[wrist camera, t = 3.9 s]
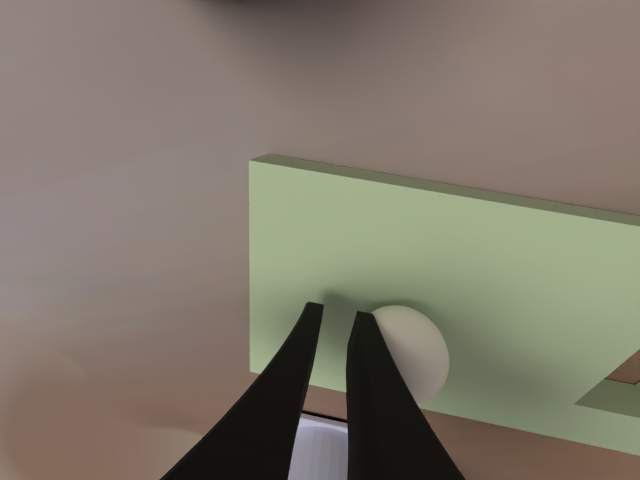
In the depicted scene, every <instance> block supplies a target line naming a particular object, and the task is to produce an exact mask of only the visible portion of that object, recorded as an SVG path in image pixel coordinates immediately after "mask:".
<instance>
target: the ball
mask: <svg viewBox="0 0 640 480" xmlns="http://www.w3.org/2000/svg"><path fill="white" fill-rule="evenodd" d="M371 313H372V314H373V315H374V317H375V319H376V321H377V324H378V326H379V329H380V331H381V333H382V336H383V338H384V340H385V343H386V345H387V347H388V349H389V351H390V353H391V356H392V358H393V360H394V362H395V364H396V366H397V368H398V370H399V372H400V374H401V376H402V377H403V379H404V381H405V383H406V385H407V387H408V389H409V391H410V392H411V394H412V396H413V398H414V400H415V401H416V403H417V404H420V403H423V402H426V401H428V400H430V399H431V398H433V397H434V396H435V395H436V394H437V393H438V392H439V391H440V390H441V388H442V387H443V385H444V383H445V381H446V378H447V376H448V371H449V354H448V349H447V346H446V343H445V340H444V338H443V336H442V334H441V333H440V331H439V329H438V328H437V327H436V326H435V324H434V323H433V322H432V321H431V320H430V319H429V318H427V317H426V316H425V315H423V314H422V313H420V312H419V311H416V310H414V309H412V308H409V307H406V306H400V305H390V306H384V307H381V308H379V309H376V310H375V311H373V312H371Z"/></svg>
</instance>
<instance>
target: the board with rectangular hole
mask: <svg viewBox="0 0 640 480" xmlns="http://www.w3.org/2000/svg"><path fill="white" fill-rule="evenodd" d="M249 276H250V372H254V373H259V374H261V373H262V371H263V370H264V369H265V368H266V366H267V365H268V364H269V362H270V361H271V360H272V358H273V357H274V356H275V354H276V353H277V352H278V350H279V349H280V347H281V346H282V345H283V343H284V342H285V340H286V339H287V337H288V335H289V334H290V332H291V331H292V329H293V328H294V326H295V324H296V323H297V321H298V319H299V317H300V315H301V314H302V311H303V309H304V307H305V304H306V303H307V302H314V303H319V304H324V309H323V316H322V322H321V327H320V333H319V338H318V343H317V349H316V354H315V359H314V365H313V369H312V373H311V377H310V381H309V384H310V385H315V386H319V387H324V388H329V389H333V390H338V391H342V392H346V358H347V345H348V341H349V338H350V334H351V331H352V327H353V324H354V320H355V317H356V313H357V311H361V312H367V313H371V312H373V311H375V310H376V309H379V308H381V307H384V306H390V305H400V306H406V307H409V308H412V309H414V310H416V311H419V312H420V313H422V314H423V315H425V316H426V317H427V318H429V319H430V320H431V321H432V322H433V323H434V324H435V326H436V327H437V328H438V329H439V331H440V333H441V334H442V336H443V338H444V340H445V343H446V346H447V349H448V354H449V371H448V376H447V378H446V381H445V383H444V385H443V387H442V388H441V390H440V391H439V392H438V393H437V394H436V395H435V396H434V397H433V398H431V399H430V400H428V401H426V402H423V403H420V404H417V405H418V407H419V408H421V409H426V410H430V411H435V412H440V413H444V414H449V415H454V416H458V417H463V418H468V419H472V420H477V421H481V422H486V423H491V424H495V425H500V426H505V427H509V428H514V429H519V430H523V431H528V432H532V433H537V434H542V435H546V436H551V437H556V438H560V439H565V440H570V441H574V442H579V443H583V444H588V445H593V446H597V447H602V448H607V449H611V450H616V451H621V452H625V453H630V454H634V455H639V456H640V382H638V383H637V384H636V385H634V384H629V383H624V382H619V381H614V380H609V379H604V378H605V377H607V376H608V375H609V374H610V373H611V372H612V371H614V370H615V369H616V368H617V367H618V366H620V365H621V364H622V363H623V362H624V361H626V360H627V359H628V358H629V357H630V356H632V355H633V354H634V353H635V352H636V351H638V350H639V349H640V216H636V215H631V214H625V213H619V212H613V211H607V210H601V209H595V208H589V207H583V206H577V205H571V204H565V203H559V202H553V201H547V200H541V199H535V198H529V197H523V196H517V195H511V194H505V193H499V192H493V191H487V190H481V189H475V188H469V187H463V186H457V185H451V184H445V183H439V182H433V181H427V180H421V179H415V178H409V177H403V176H397V175H391V174H385V173H379V172H373V171H367V170H361V169H355V168H349V167H343V166H337V165H331V164H325V163H320V162H314V161H308V160H302V159H296V158H290V157H284V156H278V155H272V154H266V155H263V156H260V157H257V158H254V159H251V160H249Z"/></svg>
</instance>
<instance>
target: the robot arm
mask: <svg viewBox="0 0 640 480" xmlns="http://www.w3.org/2000/svg"><path fill="white" fill-rule="evenodd" d="M323 309H324V304H319V303H314V302H307V303H306V304H305V307H304V309H303V311H302V314H301V315H300V317H299V319H298V321H297V323H296V324H295V326H294V328H293V329H292V331H291V332H290V334H289V335H288V337H287V339H286V340H285V342H284V343H283V345H282V346H281V347H280V349H279V350H278V352H277V353H276V354H275V356H274V357H273V358H272V360H271V361H270V362H269V364H268V365H267V366H266V368H265V369H264V370H263V371H262V373H261V374H260V375H259V376H258V378H257V379H256V380H255V381H254V383H253V384H252V385H251V386H250V387H249V388H248V390H247V391H246V392H245V393H244V394H243V395H242V397H241V398H240V399H239V400H238V401H237V402H236V403H235V404H234V405H233V406H232V408H231V409H230V410H229V411H228V412H227V413H226V414H225V415H224V416H223V417H222V418H221V420H220V421H219V422H218V423H217V424H216V425H215V426H214V427H213V428H212V429H211V430H210V431H209V432H208V433H207V434H206V435H205V436H204V437H203V438H202V439H201V440H200V441H199V442H198V443H197V444H196V445H195V446H194V447H193V448H192V449H191V450H190V451H189V452H188V453H187V454H186V455H185V456H184V457H183V458H182V459H181V460H180V461H179V462H178V463H177V464H176V465H175V466H174V467H172V468H171V470H169V471H168V472H167V473H166V474H165V475H164V476H163V477H162V478H161V479H160V480H465V478H464V477H463V475H462V474H461V472H460V471H459V470H458V468H457V467H456V465H455V464H454V462H453V461H452V459H451V458H450V456H449V455H448V453H447V452H446V450H445V449H444V447H443V445H442V444H441V442H440V441H439V439H438V438H437V436H436V435H435V433H434V431H433V430H432V428H431V427H430V425H429V423H428V422H427V420H426V418H425V417H424V415H423V413H422V412H421V410H420V408H419V407H418V405H417V403H416V401H415V400H414V398H413V396H412V394H411V392H410V391H409V389H408V387H407V385H406V383H405V381H404V379H403V377H402V376H401V374H400V372H399V370H398V368H397V366H396V364H395V362H394V360H393V358H392V356H391V353H390V351H389V349H388V347H387V345H386V343H385V340H384V338H383V336H382V333H381V331H380V329H379V326H378V324H377V321H376V319H375V317H374V315H373V314H372V313H367V312H361V311H357V313H356V317H355V320H354V324H353V327H352V331H351V334H350V338H349V341H348V345H347V358H346V398H347V423H344V422H339V421H335V420H330V419H326V418H321V417H317V416H312V415H308V414H303V413H302V409H303V405H304V401H305V397H306V393H307V389H308V385H309V381H310V377H311V373H312V369H313V365H314V359H315V354H316V349H317V343H318V338H319V333H320V327H321V322H322V316H323Z"/></svg>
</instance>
